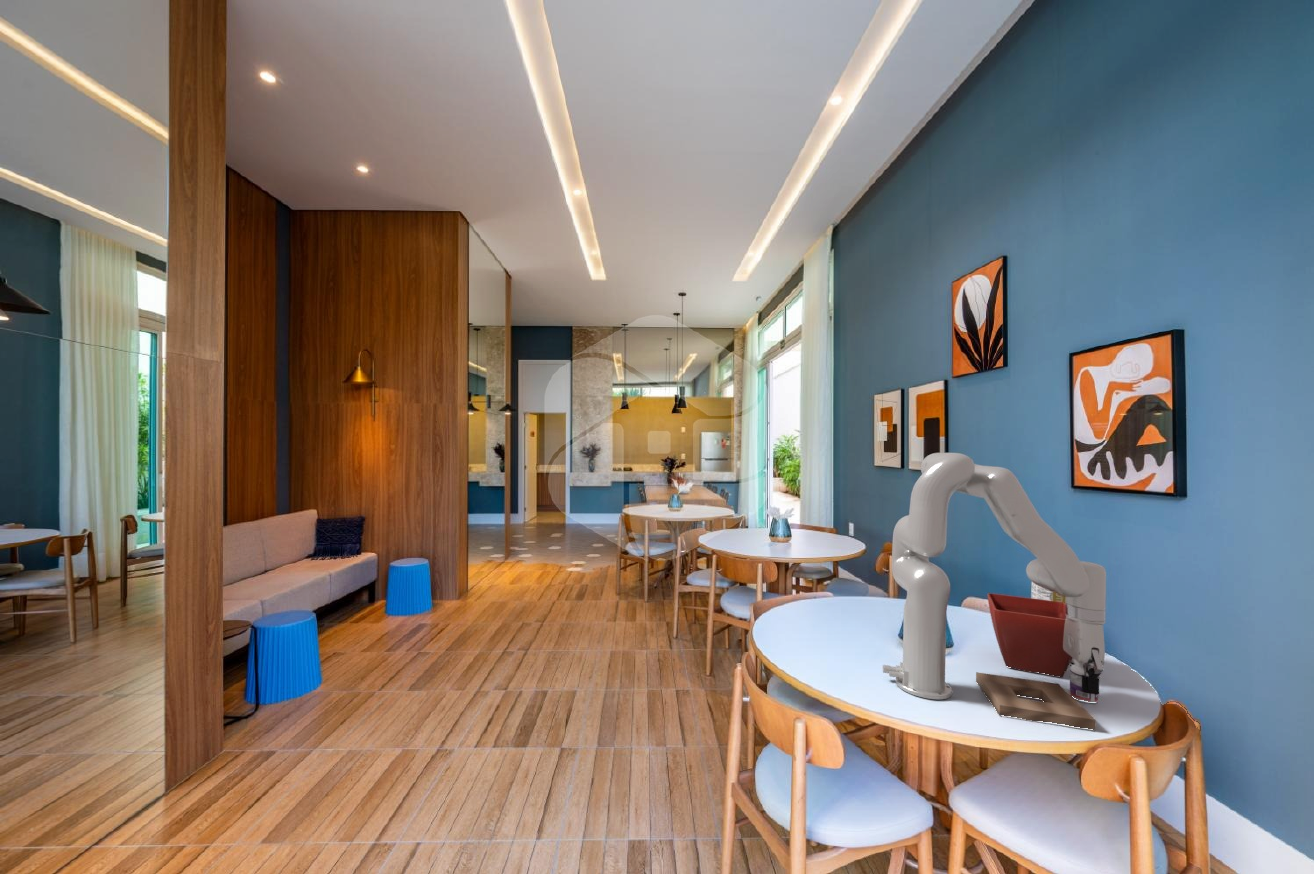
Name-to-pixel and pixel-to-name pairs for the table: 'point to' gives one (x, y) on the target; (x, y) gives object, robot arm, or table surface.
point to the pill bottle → (1079, 683)
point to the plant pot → (1030, 633)
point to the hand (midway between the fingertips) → (1083, 686)
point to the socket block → (1053, 709)
